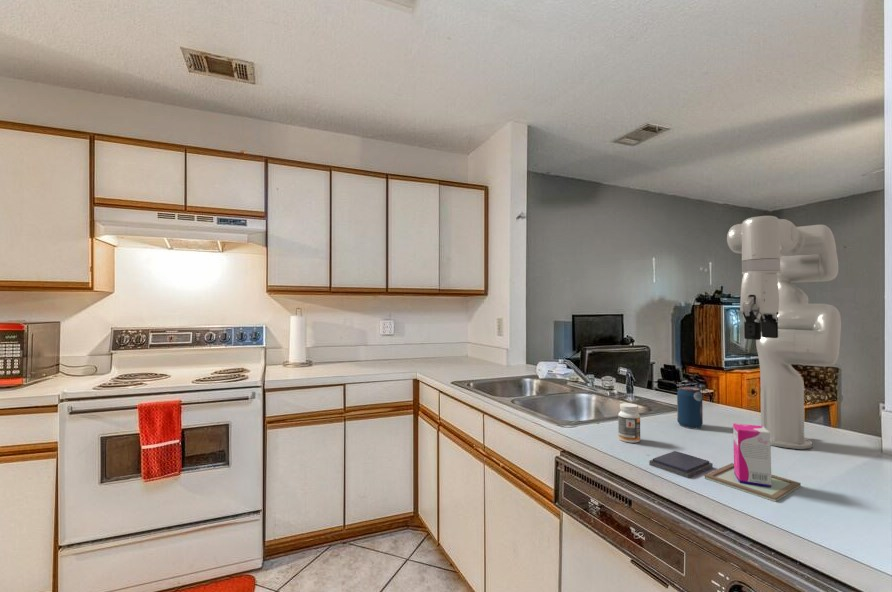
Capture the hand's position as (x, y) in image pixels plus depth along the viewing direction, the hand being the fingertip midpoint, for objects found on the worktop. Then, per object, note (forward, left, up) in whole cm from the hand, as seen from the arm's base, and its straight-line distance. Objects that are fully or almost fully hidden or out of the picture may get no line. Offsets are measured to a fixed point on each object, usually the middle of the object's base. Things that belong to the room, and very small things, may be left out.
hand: (761, 338), depth 101 cm
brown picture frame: (+14, +3, -30) cm, 34 cm away
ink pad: (+18, -10, -30) cm, 37 cm away
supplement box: (+14, +3, -30) cm, 33 cm away
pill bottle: (+11, -28, -31) cm, 43 cm away
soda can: (-18, -26, -31) cm, 44 cm away
